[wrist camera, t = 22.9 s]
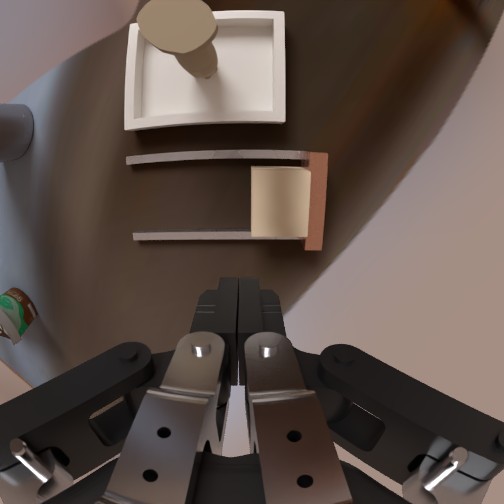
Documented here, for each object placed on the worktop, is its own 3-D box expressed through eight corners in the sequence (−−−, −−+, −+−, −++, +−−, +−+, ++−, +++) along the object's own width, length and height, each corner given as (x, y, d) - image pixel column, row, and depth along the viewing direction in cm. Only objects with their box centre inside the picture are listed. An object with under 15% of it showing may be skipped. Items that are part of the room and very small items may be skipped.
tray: (134, 130, 31) (124, 130, 28) (138, 32, 26) (130, 24, 23) (282, 123, 31) (285, 121, 28) (281, 21, 26) (284, 11, 23)
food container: (35, 288, 39) (4, 316, 30) (43, 315, 42) (15, 346, 32) (-2, 277, 39) (-32, 300, 29) (5, 303, 41) (-22, 328, 32)
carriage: (250, 221, 36) (251, 236, 30) (251, 166, 33) (251, 170, 27) (298, 221, 36) (307, 236, 30) (300, 167, 33) (310, 171, 28)
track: (136, 237, 36) (122, 250, 32) (129, 156, 32) (113, 159, 28) (312, 236, 37) (321, 250, 32) (317, 151, 33) (328, 153, 28)
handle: (201, 41, 27) (171, -17, 13) (238, 71, 28) (230, 21, 14) (172, 67, 28) (124, 24, 14) (208, 98, 29) (179, 65, 16)
